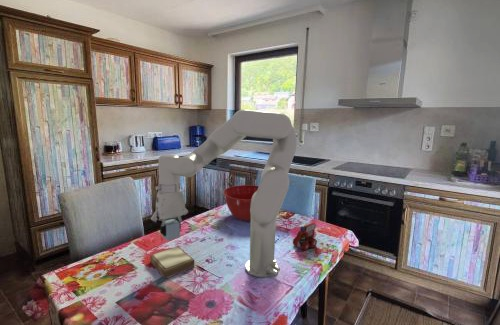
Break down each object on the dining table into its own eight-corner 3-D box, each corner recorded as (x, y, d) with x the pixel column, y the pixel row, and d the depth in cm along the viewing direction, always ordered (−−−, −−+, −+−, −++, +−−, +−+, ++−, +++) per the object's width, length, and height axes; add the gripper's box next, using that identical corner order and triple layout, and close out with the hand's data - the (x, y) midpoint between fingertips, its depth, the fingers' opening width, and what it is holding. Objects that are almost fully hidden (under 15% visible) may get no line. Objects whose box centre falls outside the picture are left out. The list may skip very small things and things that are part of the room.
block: (179, 237, 101) (179, 222, 100) (167, 240, 98) (167, 225, 97) (174, 232, 105) (173, 218, 104) (162, 236, 102) (161, 221, 101)
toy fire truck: (289, 247, 120) (290, 225, 118) (307, 239, 128) (308, 219, 126) (301, 253, 115) (302, 231, 113) (318, 245, 122) (320, 224, 121)
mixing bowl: (267, 228, 139) (268, 200, 136) (216, 223, 145) (216, 196, 142) (273, 210, 166) (274, 187, 164) (230, 206, 172) (230, 183, 169)
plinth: (194, 266, 103) (194, 259, 102) (164, 278, 95) (164, 270, 94) (178, 252, 113) (178, 245, 112) (150, 261, 105) (150, 254, 105)
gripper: (150, 193, 90) (152, 242, 93) (195, 186, 101) (195, 230, 104) (143, 188, 96) (144, 235, 99) (185, 182, 107) (186, 224, 110)
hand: (170, 232), depth 102 cm, fingers closed on block, 4 cm apart
